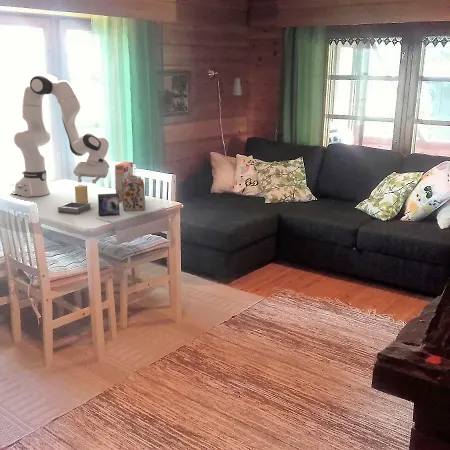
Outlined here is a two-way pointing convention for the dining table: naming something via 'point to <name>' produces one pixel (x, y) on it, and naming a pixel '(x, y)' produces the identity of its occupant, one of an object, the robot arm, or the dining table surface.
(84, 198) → the tan rectangular block
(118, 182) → the cracker box
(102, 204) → the small box
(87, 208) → the tray
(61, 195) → the dining table surface
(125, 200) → the decorative jar
